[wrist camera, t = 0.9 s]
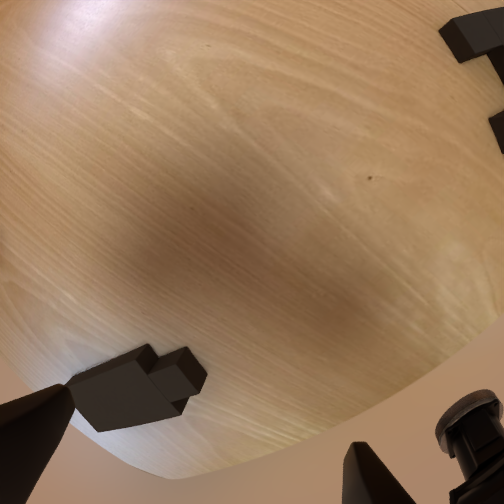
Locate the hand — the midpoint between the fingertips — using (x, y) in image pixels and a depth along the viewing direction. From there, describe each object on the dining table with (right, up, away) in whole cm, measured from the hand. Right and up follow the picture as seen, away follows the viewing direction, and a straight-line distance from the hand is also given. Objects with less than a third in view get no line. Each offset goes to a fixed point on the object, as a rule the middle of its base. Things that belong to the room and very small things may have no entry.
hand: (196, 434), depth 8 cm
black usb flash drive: (-9, -7, +17) cm, 20 cm away
